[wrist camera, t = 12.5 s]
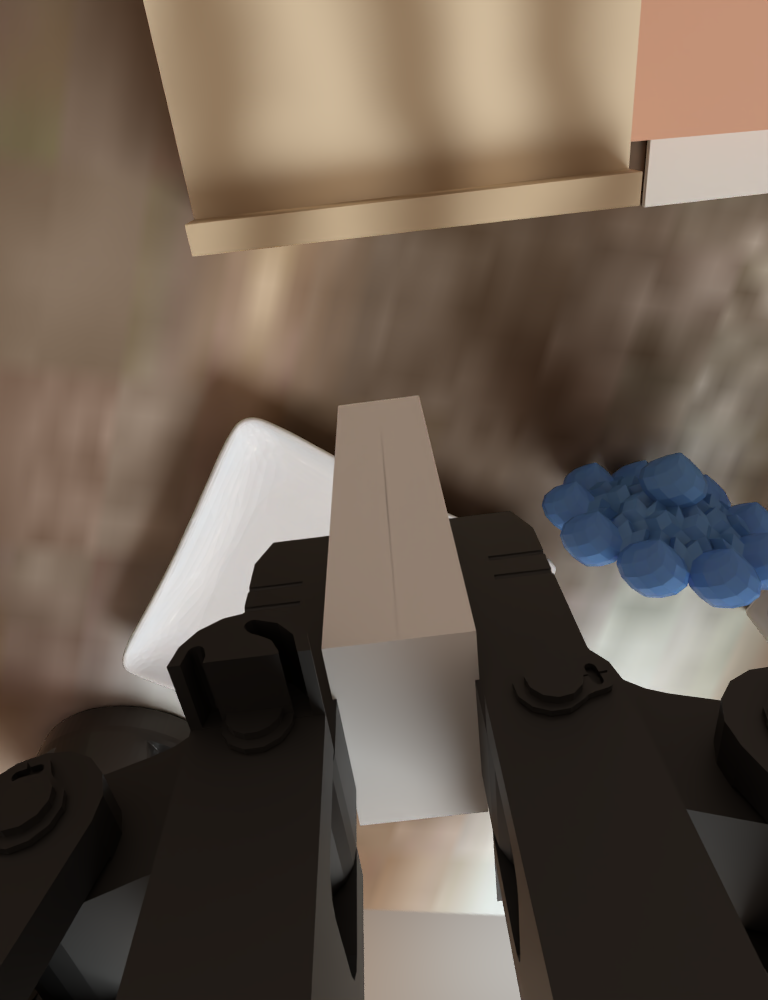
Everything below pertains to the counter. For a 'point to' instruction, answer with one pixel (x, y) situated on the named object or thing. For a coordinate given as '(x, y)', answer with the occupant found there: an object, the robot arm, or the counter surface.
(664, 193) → the mat
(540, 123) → the box
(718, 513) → the grapes
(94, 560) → the counter surface
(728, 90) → the block
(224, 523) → the salad plate
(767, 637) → the container
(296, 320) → the counter surface
